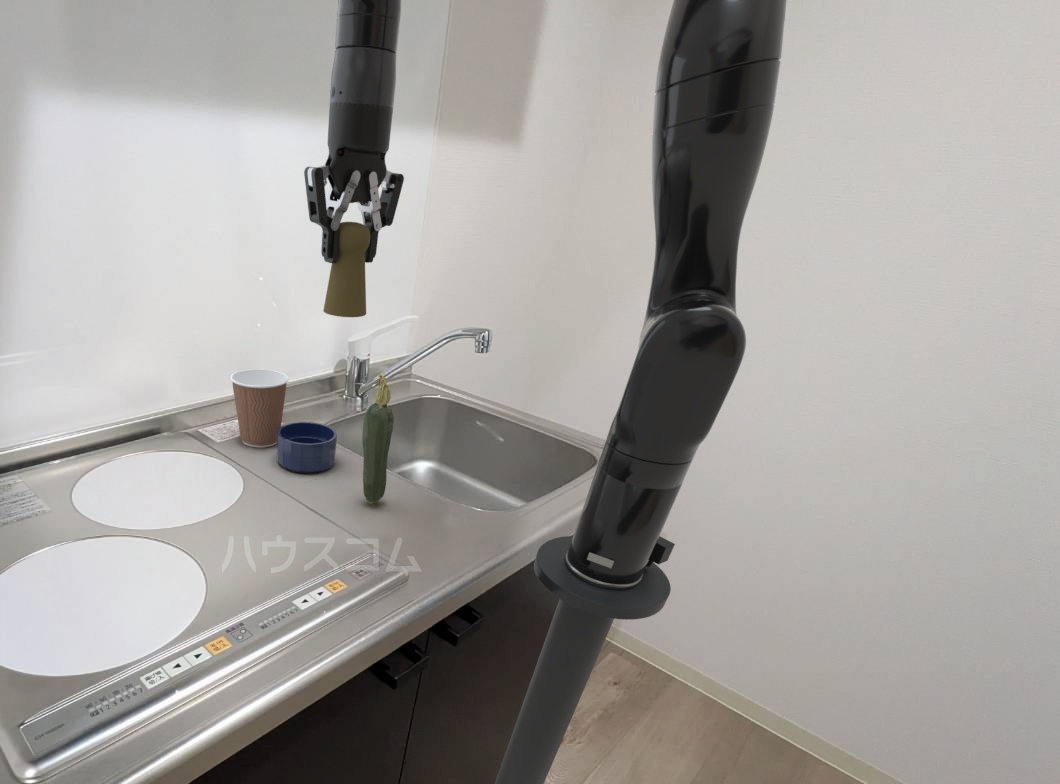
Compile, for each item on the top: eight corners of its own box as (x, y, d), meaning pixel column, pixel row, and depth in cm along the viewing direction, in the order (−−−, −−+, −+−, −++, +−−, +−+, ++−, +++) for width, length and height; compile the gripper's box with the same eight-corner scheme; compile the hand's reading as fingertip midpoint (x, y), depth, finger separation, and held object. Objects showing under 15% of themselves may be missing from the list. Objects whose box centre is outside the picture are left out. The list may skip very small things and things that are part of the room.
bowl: (315, 446, 108) (316, 418, 105) (346, 468, 101) (348, 438, 98) (266, 456, 104) (266, 427, 101) (295, 479, 97) (295, 448, 94)
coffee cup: (296, 436, 112) (297, 374, 105) (272, 455, 104) (272, 389, 97) (249, 426, 115) (247, 365, 108) (222, 444, 107) (219, 379, 100)
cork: (316, 313, 80) (321, 221, 74) (332, 305, 85) (338, 218, 78) (357, 319, 78) (366, 226, 72) (371, 311, 83) (380, 223, 77)
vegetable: (383, 513, 89) (399, 383, 77) (355, 511, 89) (367, 381, 78) (383, 499, 92) (398, 373, 81) (355, 497, 92) (367, 371, 81)
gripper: (327, 94, 62) (317, 268, 72) (428, 108, 69) (407, 265, 79) (292, 96, 68) (288, 258, 77) (390, 109, 74) (375, 257, 84)
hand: (348, 261), depth 78 cm, fingers closed on cork, 5 cm apart
